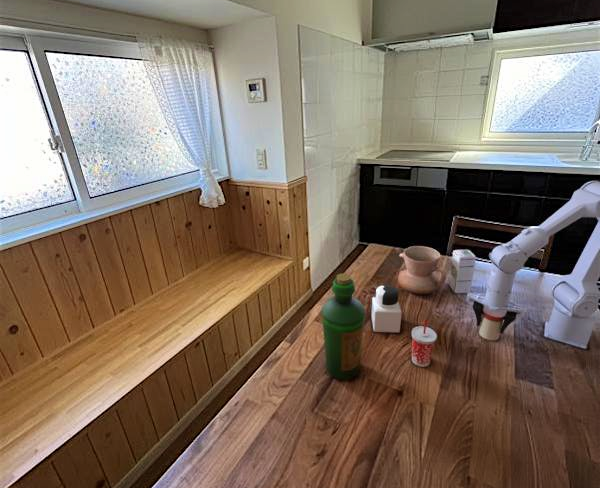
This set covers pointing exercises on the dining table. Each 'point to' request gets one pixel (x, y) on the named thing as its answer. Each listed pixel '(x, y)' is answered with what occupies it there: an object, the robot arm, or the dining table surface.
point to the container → (386, 310)
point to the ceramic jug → (421, 270)
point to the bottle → (343, 329)
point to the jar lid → (493, 314)
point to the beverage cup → (422, 344)
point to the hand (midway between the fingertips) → (489, 327)
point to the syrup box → (462, 271)
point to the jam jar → (490, 329)
